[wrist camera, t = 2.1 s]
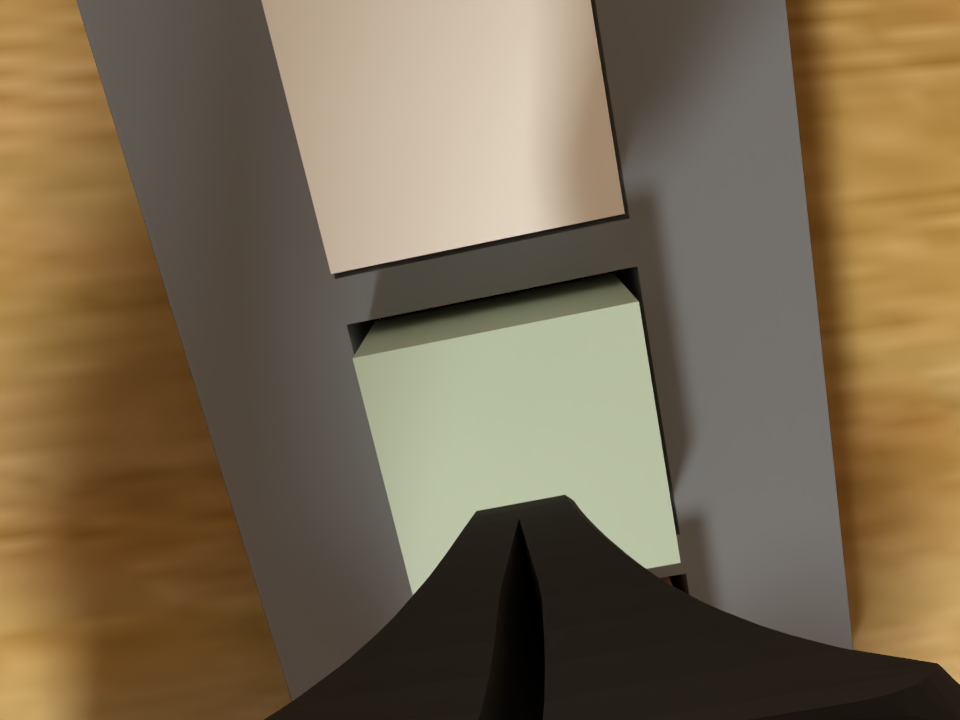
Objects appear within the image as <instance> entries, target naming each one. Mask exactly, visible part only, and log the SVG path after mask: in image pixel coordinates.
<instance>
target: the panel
mask: <svg viewBox="0 0 960 720" xmlns="http://www.w3.org/2000/svg"><path fill="white" fill-rule="evenodd" d="M77 4H78V7H79V10H80V13H81V17H82V20H83V23H84V26H85V30H86V33H87V36H88V39H89V43H90V46H91V49H92V53H93V56H94V59H95V62H96V66H97V69H98V72H99V75H100V79H101V82H102V85H103V88H104V92H105V95H106V98H107V101H108V105H109V108H110V111H111V114H112V118H113V121H114V124H115V127H116V131H117V134H118V137H119V140H120V144H121V147H122V150H123V153H124V157H125V160H126V163H127V166H128V170H129V173H130V176H131V179H132V183H133V186H134V189H135V192H136V196H137V199H138V202H139V205H140V209H141V212H142V215H143V218H144V222H145V225H146V228H147V231H148V235H149V238H150V241H151V245H152V248H153V251H154V254H155V258H156V261H157V264H158V267H159V271H160V274H161V277H162V280H163V284H164V287H165V290H166V293H167V297H168V300H169V303H170V306H171V310H172V313H173V316H174V319H175V323H176V326H177V329H178V332H179V336H180V339H181V342H182V345H183V349H184V352H185V355H186V358H187V362H188V365H189V368H190V371H191V375H192V378H193V381H194V384H195V388H196V391H197V394H198V397H199V401H200V404H201V407H202V410H203V414H204V417H205V420H206V423H207V427H208V430H209V433H210V437H211V440H212V443H213V446H214V450H215V453H216V456H217V459H218V463H219V466H220V469H221V472H222V476H223V479H224V482H225V485H226V489H227V492H228V495H229V498H230V502H231V505H232V508H233V511H234V515H235V518H236V521H237V524H238V528H239V531H240V534H241V537H242V541H243V544H244V547H245V550H246V554H247V557H248V560H249V563H250V567H251V570H252V573H253V576H254V580H255V583H256V586H257V589H258V593H259V596H260V599H261V602H262V606H263V609H264V612H265V616H266V619H267V622H268V625H269V629H270V632H271V635H272V638H273V642H274V645H275V648H276V651H277V655H278V658H279V661H280V664H281V668H282V671H283V674H284V677H285V681H286V684H287V687H288V690H289V694H290V697H291V700H292V701H294V700H295V699H296V698H298V697H299V696H300V695H302V694H303V693H304V692H306V691H307V690H308V689H310V688H311V687H313V686H314V685H315V684H317V683H318V682H319V681H321V680H322V679H323V678H325V677H326V676H327V675H329V674H330V673H331V672H333V671H334V670H336V669H337V668H338V667H340V666H341V665H342V664H343V663H345V662H346V661H347V660H348V659H349V658H351V657H352V656H353V655H354V654H355V653H356V652H357V651H358V650H360V649H361V648H362V647H363V646H364V645H365V644H366V643H367V642H368V641H370V640H371V639H372V638H373V637H374V636H375V635H376V634H377V633H378V632H379V631H380V630H381V629H382V628H383V627H384V626H385V625H386V624H387V623H388V622H389V621H390V620H391V619H392V618H393V617H394V616H395V615H396V614H397V613H398V612H399V611H400V610H401V608H402V607H403V606H404V605H405V604H406V603H407V602H408V600H409V599H410V598H411V597H412V596H413V594H412V590H411V587H410V583H409V579H408V575H407V571H406V567H405V563H404V559H403V555H402V551H401V547H400V543H399V539H398V535H397V532H396V528H395V524H394V520H393V516H392V512H391V508H390V504H389V500H388V496H387V492H386V488H385V484H384V480H383V476H382V473H381V469H380V465H379V461H378V457H377V453H376V449H375V445H374V441H373V437H372V433H371V429H370V425H369V421H368V418H367V414H366V410H365V406H364V402H363V398H362V394H361V390H360V386H359V382H358V378H357V374H356V370H355V366H354V362H353V359H352V358H353V357H354V355H355V353H356V352H357V350H358V348H359V347H360V345H361V344H362V342H363V340H364V339H365V337H366V335H367V334H368V332H369V330H370V329H371V327H372V326H373V324H374V322H375V320H374V319H378V318H383V317H388V316H393V315H398V314H403V313H408V312H413V311H418V310H423V309H428V308H433V307H438V306H443V305H448V304H453V303H458V302H463V301H468V300H472V299H477V298H482V297H487V296H492V295H497V294H502V293H507V292H512V291H517V290H522V289H527V288H532V287H537V286H542V285H547V284H552V283H557V282H562V281H567V280H572V279H577V278H582V277H587V276H592V275H597V274H602V273H606V272H611V271H616V270H618V272H619V278H620V281H621V282H622V283H623V284H624V285H625V287H626V288H627V289H628V290H629V291H630V292H631V293H632V294H633V296H634V297H635V298H636V299H637V300H638V301H639V306H640V312H641V318H642V325H643V331H644V337H645V343H646V350H647V356H648V362H649V368H650V375H651V381H652V387H653V393H654V399H655V406H656V412H657V418H658V424H659V431H660V437H661V443H662V449H663V456H664V462H665V468H666V474H667V481H668V487H669V493H670V499H671V506H672V512H673V518H674V524H675V531H676V537H677V543H678V549H679V556H680V562H681V563H676V564H671V565H665V566H660V567H654V568H648V569H647V570H649V571H650V572H651V573H653V574H654V575H656V576H657V577H659V578H663V577H668V576H669V578H670V580H671V583H672V585H673V586H674V587H676V588H677V589H679V590H681V591H683V592H685V593H687V594H689V595H691V596H692V597H694V598H696V599H698V600H700V601H702V602H704V603H706V604H709V605H711V606H713V607H715V608H717V609H720V610H722V611H725V612H727V613H730V614H732V615H735V616H737V617H740V618H743V619H745V620H748V621H750V622H753V623H756V624H758V625H761V626H764V627H767V628H770V629H773V630H777V631H780V632H783V633H786V634H789V635H793V636H797V637H801V638H805V639H808V640H812V641H816V642H820V643H824V644H828V645H832V646H836V647H840V648H845V649H850V650H853V643H852V634H851V624H850V615H849V605H848V595H847V586H846V576H845V567H844V557H843V548H842V538H841V528H840V519H839V509H838V500H837V490H836V480H835V471H834V461H833V452H832V442H831V433H830V423H829V413H828V404H827V394H826V385H825V375H824V366H823V356H822V346H821V337H820V327H819V318H818V308H817V298H816V289H815V279H814V270H813V260H812V251H811V241H810V231H809V222H808V212H807V203H806V193H805V183H804V174H803V164H802V155H801V145H800V136H799V126H798V116H797V107H796V97H795V88H794V78H793V69H792V59H791V49H790V40H789V30H788V21H787V11H786V1H785V0H591V6H592V12H593V19H594V25H595V31H596V37H597V44H598V50H599V56H600V62H601V69H602V75H603V81H604V87H605V94H606V100H607V106H608V112H609V118H610V125H611V131H612V137H613V143H614V150H615V156H616V162H617V168H618V175H619V181H620V187H621V193H622V200H623V206H624V212H625V214H621V215H616V216H611V217H606V218H601V219H596V220H592V221H587V222H582V223H577V224H572V225H567V226H562V227H558V228H553V229H548V230H543V231H538V232H533V233H528V234H523V235H519V236H514V237H509V238H504V239H499V240H494V241H489V242H485V243H480V244H475V245H470V246H465V247H460V248H455V249H451V250H446V251H441V252H436V253H431V254H426V255H421V256H417V257H412V258H407V259H402V260H397V261H392V262H387V263H382V264H378V265H373V266H368V267H363V268H358V269H353V270H348V271H344V272H339V273H334V274H331V272H330V268H329V264H328V260H327V256H326V252H325V248H324V245H323V241H322V237H321V233H320V229H319V225H318V221H317V217H316V213H315V209H314V205H313V201H312V197H311V193H310V189H309V186H308V182H307V178H306V174H305V170H304V166H303V162H302V158H301V154H300V150H299V146H298V142H297V138H296V134H295V131H294V127H293V123H292V119H291V115H290V111H289V107H288V103H287V99H286V95H285V91H284V87H283V83H282V79H281V75H280V72H279V68H278V64H277V60H276V56H275V52H274V48H273V44H272V40H271V36H270V32H269V28H268V24H267V20H266V16H265V13H264V9H263V5H262V1H261V0H77Z"/></svg>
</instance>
